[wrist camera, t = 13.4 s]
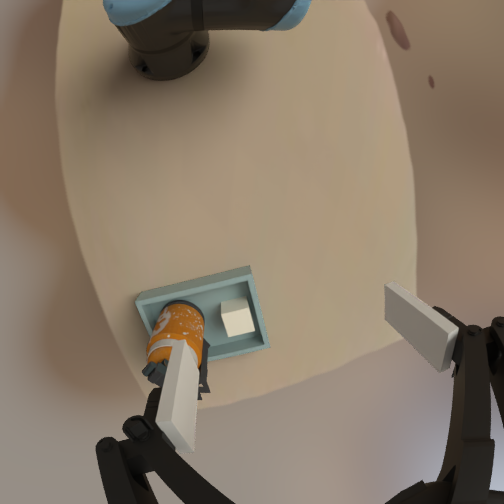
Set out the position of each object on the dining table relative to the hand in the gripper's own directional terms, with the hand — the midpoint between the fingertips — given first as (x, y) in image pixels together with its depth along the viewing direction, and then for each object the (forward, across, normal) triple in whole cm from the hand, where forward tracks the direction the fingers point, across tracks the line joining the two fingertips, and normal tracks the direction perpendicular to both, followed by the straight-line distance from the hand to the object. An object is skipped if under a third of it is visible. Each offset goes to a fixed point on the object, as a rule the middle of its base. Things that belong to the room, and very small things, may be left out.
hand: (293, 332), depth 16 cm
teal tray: (+35, -12, -15) cm, 40 cm away
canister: (+34, -16, -15) cm, 40 cm away
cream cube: (+34, -6, -15) cm, 37 cm away
